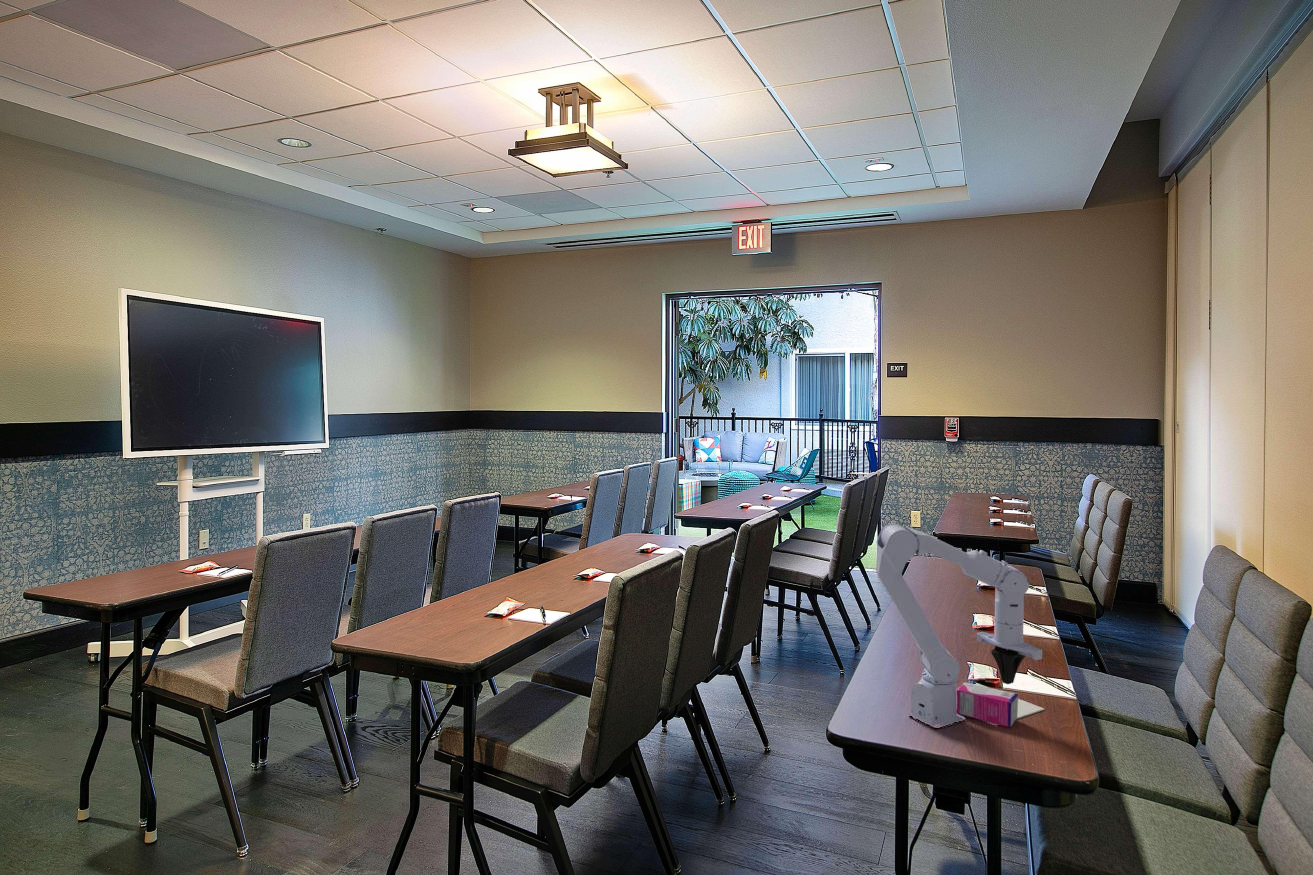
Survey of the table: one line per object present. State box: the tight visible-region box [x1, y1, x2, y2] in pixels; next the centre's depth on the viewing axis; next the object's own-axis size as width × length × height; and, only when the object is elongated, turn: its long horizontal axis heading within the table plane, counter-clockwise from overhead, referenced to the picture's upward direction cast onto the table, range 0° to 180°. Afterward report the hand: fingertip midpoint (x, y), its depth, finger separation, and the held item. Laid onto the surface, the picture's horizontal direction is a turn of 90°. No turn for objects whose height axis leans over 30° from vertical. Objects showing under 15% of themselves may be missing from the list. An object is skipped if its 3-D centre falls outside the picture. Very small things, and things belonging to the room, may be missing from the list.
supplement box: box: [956, 681, 1019, 728], centre depth 165 cm, size 6×6×12 cm
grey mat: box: [974, 682, 1045, 727], centre depth 173 cm, size 17×18×1 cm
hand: (1007, 682), depth 164 cm, fingers closed
